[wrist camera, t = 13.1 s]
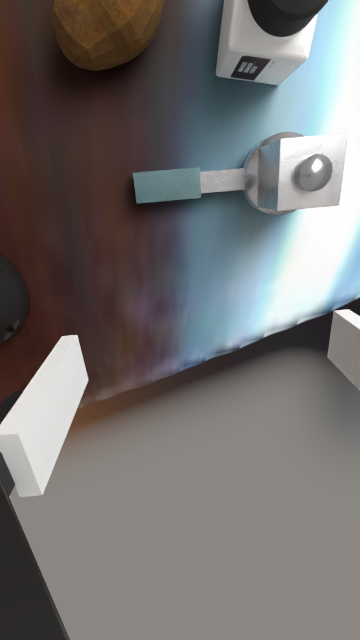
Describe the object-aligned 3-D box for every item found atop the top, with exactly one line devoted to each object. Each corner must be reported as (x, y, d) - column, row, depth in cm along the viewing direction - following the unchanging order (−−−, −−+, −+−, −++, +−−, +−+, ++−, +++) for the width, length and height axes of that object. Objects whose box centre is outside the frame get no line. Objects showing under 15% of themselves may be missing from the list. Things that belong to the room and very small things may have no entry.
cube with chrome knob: (257, 207, 37) (280, 211, 30) (258, 148, 35) (284, 137, 27) (307, 202, 37) (344, 205, 30) (313, 143, 35) (354, 131, 27)
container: (279, 86, 35) (339, 33, 23) (214, 77, 34) (241, 17, 22) (296, -2, 32) (375, -118, 20) (225, -14, 31) (263, -141, 19)
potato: (47, 32, 32) (13, -13, 25) (134, -67, 29) (124, -148, 22) (100, 104, 35) (84, 83, 28) (184, 20, 32) (190, -27, 25)
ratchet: (141, 224, 40) (136, 232, 33) (131, 148, 36) (124, 139, 30) (305, 210, 40) (334, 214, 34) (312, 133, 37) (346, 120, 30)
